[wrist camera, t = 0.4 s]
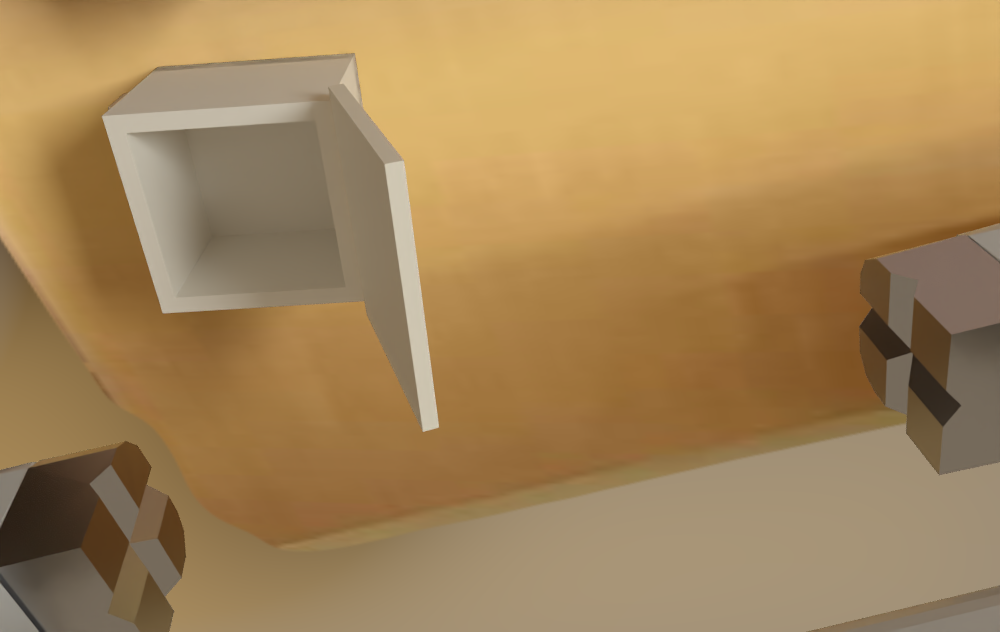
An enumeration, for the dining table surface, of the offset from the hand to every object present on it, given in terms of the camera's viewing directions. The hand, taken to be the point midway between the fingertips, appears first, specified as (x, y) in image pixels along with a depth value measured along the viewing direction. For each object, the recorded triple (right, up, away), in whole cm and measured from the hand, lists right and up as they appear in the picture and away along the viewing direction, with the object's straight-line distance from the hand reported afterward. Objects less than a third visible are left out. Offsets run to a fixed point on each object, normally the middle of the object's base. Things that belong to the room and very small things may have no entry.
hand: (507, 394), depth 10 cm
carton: (-14, +11, +47) cm, 50 cm away
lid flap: (-6, +4, +34) cm, 35 cm away
